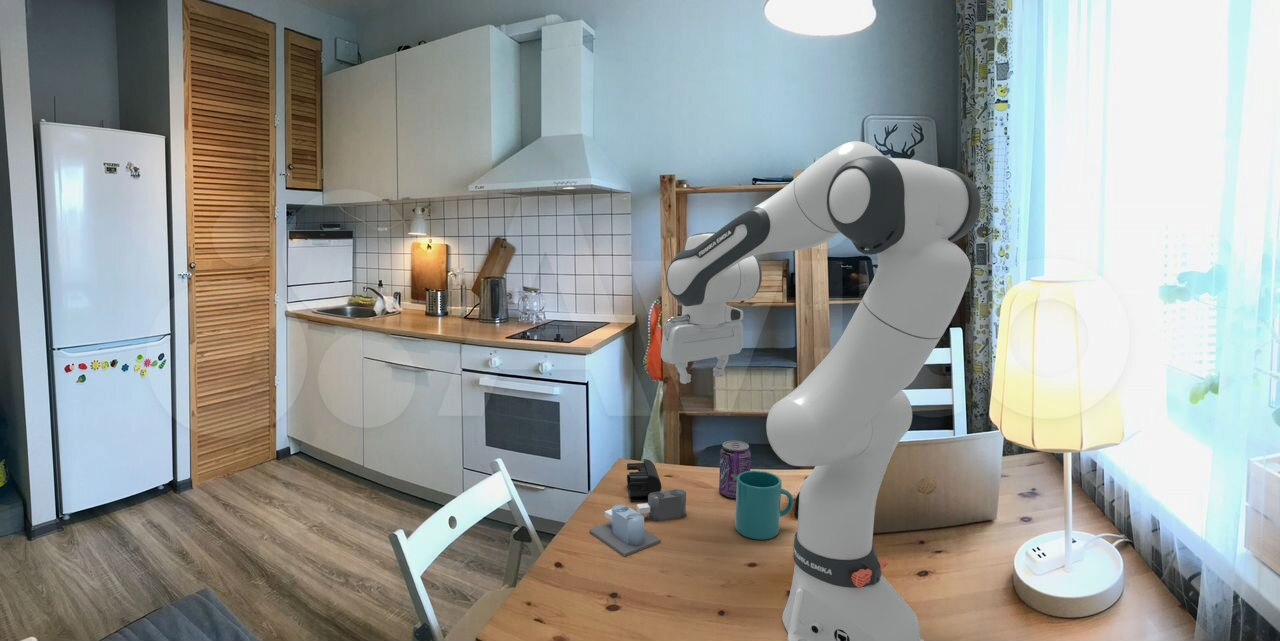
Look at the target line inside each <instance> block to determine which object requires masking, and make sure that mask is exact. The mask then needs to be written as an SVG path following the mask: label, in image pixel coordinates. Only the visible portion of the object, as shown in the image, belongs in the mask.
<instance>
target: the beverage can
mask: <svg viewBox="0 0 1280 641" xmlns="http://www.w3.org/2000/svg"><path fill="white" fill-rule="evenodd" d="M721 445H722V448H721V449H720V451H719V455H720V456H719V478H718V479H719V482H718V484H719V485H718V489H719V490H718V491H719V493H720V494H721V495H724V496H725V497H727V498H731V499H736V485H737V476H738V475H739V474H740V473H742V472H746V471H751V458H752V457H751V456H752V454H751V450H750V445H749V444H748V443H747V442H744V441H741V440H740V441H739V440H728V441H725V442H723V443H722V444H721Z"/></svg>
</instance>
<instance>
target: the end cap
mask: <svg viewBox="0 0 1280 641" xmlns="http://www.w3.org/2000/svg"><path fill="white" fill-rule="evenodd" d="M626 470H627V471H630V472H629V474H626V482H627V484H626V487H627V488H626V489H627V494H628V498H629V502H630V503H648V495H649V494H650V493H653V492H660V491H662V483H661V480H660V479H661V478H660V476H659V474H658V470H657V467H656V465H655V463H654V462H653V461H652V460H650V459H647V458H643V460H642V462H627V463H626Z"/></svg>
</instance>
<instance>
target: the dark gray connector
mask: <svg viewBox="0 0 1280 641" xmlns="http://www.w3.org/2000/svg"><path fill="white" fill-rule="evenodd" d="M686 509H687V492H686V491H685V490H684V489H669V490H661V491H660V492H653V493H650V494H649V495H648V502H643V503H638V504H636V512H638V513H640V514H641V515H643V514H647V518H648V520H649V521H652V522H662V521H663V522H664V521H669V520H675V519H682V518H685V517H686V511H687V510H686Z"/></svg>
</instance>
